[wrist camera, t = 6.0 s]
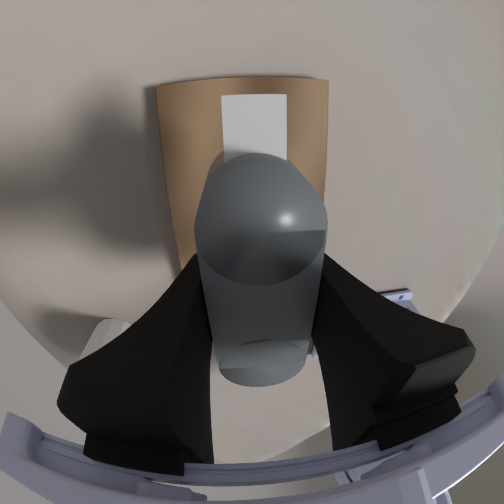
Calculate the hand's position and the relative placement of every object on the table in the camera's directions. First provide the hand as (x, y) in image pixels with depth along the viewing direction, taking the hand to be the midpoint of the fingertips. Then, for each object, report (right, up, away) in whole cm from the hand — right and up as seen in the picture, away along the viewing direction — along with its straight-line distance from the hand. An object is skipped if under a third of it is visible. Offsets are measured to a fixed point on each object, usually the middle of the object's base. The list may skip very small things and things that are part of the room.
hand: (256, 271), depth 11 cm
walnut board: (0, +4, +6) cm, 8 cm away
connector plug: (0, +1, +1) cm, 2 cm away
